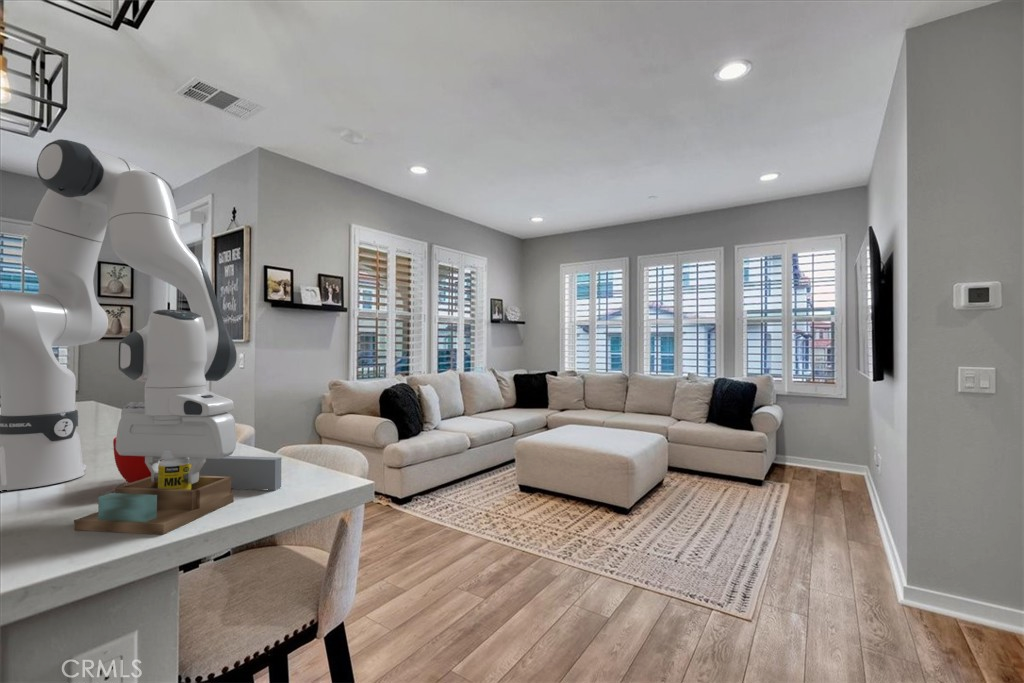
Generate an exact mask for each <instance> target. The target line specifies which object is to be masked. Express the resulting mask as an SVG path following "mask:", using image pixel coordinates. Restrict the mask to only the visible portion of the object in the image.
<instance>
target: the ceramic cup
mask: <svg viewBox="0 0 1024 683" xmlns="http://www.w3.org/2000/svg"><path fill="white" fill-rule="evenodd" d="M116 437H117V436H115V437H114V438H113V439H112V440H113V442H112V443H113V445H112V446H113V455H114V461H115V465H116V468H117V470H118V473H119V474H120V475H121V477H122V478H123V479H124V480H125V481H126V482H127V484H129V483H132V482H135V481H138V480H141V479H145V478H148V477H151V472H150V470H149V469H148V467H147V465H146V463H145V456H122V455H119V454H118V452H117V451H116ZM162 460H163V459H162ZM162 460H159V461H162Z"/></svg>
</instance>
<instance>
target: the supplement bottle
mask: <svg viewBox="0 0 1024 683" xmlns="http://www.w3.org/2000/svg"><path fill="white" fill-rule="evenodd" d="M161 458H162V459H163V460H162V461H160V462H159V465H158V489H183V490H191V484H188V483H184V482H183V480H184V478H183V475H184V473H188V472H189V470H190V468H191V466H192V464H189V458H179V457H173V455H172V454H171V451H163V454H162V457H161Z"/></svg>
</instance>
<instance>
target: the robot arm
mask: <svg viewBox="0 0 1024 683" xmlns="http://www.w3.org/2000/svg"><path fill="white" fill-rule="evenodd" d="M36 161H37V162H36V173H37V176H38V178H39V180H40V181H41V183H42V185H43V186H45V187H46V188H47V190H46V192H45V194H44V195H43V197H42V199H41V201H40V203H39V205H38V206H37V209H36V212H35V214H34V216H33V219H32V223H31V225H30V229H29V231H28V234H27V238H26V241H25V243H24V247H23V251H22V253H21V259H22V261H23V263H24V265H25V266H26V268H28V269H29V270H30V271H31V272H33V273H35V275H36V277H37V279H38V281H37V282H38V291H37V293H35V292H33V293H31V292H24V291H16V290H15V291H14V290H13V291H12V290H0V491H1V492H3V491H2V490H7V491H12V490H13V491H14V490H23V489H29V488H30V489H31V488H37V487H43V486H49V485H54V484H59V483H64V482H68V481H71V480H75V479H78V478H80V477H83V476H84V475H85V473H86V472H85V470H87V464H85V463H83V456H82V455H83V454H82V446H81V439H80V435H79V433H78V432H77V427H78V426H79V419H80V417H79V411H78V410H77V409H76V390H77V388H76V387H77V386H76V385H77V384H76V382H77V381H76V380H77V378H76V375H75V373H74V372H73V371H72V370H71V369H69V368H68V367H66V366H64V365H62V364H61V363H60V362H59V361H58V359H57V356H55V353H54V350H53V347H78V346H81V345H86V344H91V343H95V342H98V341H99V340H101V339H102V338H103V337H104V336H105V335H106V333H107V331H108V328H109V318H108V314H107V313H106V310H104V308H103V307H102V306H101V305H100V304H99V302H98V300H97V298H96V293H95V286H94V277H95V272H96V271H95V270H96V267H97V263H98V259H99V257H100V253H101V248H102V245H103V242H104V239H105V236H106V232H107V227H108V235H109V240H110V244H111V248H112V250H113V252H114V253H115V255H116V256H117V257H118V258H119V259H120V260H121V261H122V262H123V263H125V264H126V265H128V266H129V267H130V268H132V269H135V270H136V271H138V272H140V273H143V274H144V275H147V276H151V277H154V278H155V279H158V280H161V281H163V282H165V283H167V284H168V285H171V286H173V287H175V289H178V290H179V291H180V292H181V293H182V294H183V295H184V296H185V298H186V300H187V304H188V306H189V309H190V311H189V310H187V311H185V310H180V309H157V310H154V311H152V312H151V313H150V314H149V318H148V321H147V324H146V325H145V326H144V327H143V328H141V329H139V330H133V331H131V332H130V333H129V334H127V335H125V336H124V337H123V338H122V339H121V340H119V343H118V370H119V371H120V372H122V373H123V375H125V376H126V377H128V378H129V379H131V380H133V381H138V382H145V384H144V401H140V402H139V401H130V402H128V404H126V405H124V406H123V408H122V409H121V412H120V419H119V422H118V427H117V432H116V436H115V437H116V451H117V452H118V454H119V455H122V456H145V463H146V465H147V467H148V469H149V470H150V472H151V481H152V482H158V465H159V462H160V461H159V460H162V458H161V457H162V454H163V451H171V454H172V455H173V457H179V458H189V464H192V466H191V468H190V470H189V472H188V473H184V475H183V478H184V480H183V482H184V483H188V484H193V483H196V482H198V480H199V471H200V470H201V468H202V467H203V465H204V463H205V462H206V458H207V459H220V458H224V457H227V456H232V454H233V453H234V451H236V447H237V430H236V428H237V427H236V426H237V425H236V420H235V418H234V415H232V414H231V413H230V412H232V411H233V410H234V406H235V405H234V404H235V402H234V400H232V399H231V398H228V397H224V396H222V395H220V394H217V393H215V392H213V391H211V390H208V389H207V388H208V387H207V386H208V383H207V382H218V381H221V380H222V379H223V378H224V377H226V376H227V375H229V373H230V372H232V370H234V367H235V366H236V365H237V364H236V363H237V359H238V358H237V356H238V355H237V348H236V346H235V343H234V341H233V339H232V337H231V335H230V333H229V331H228V329H227V326H226V322H225V320H224V318H223V314H222V311H221V308H220V305H219V303H218V300H217V296H216V293H215V292H216V291H215V290H214V287H213V284H212V281H211V278H210V274H209V273H208V271H207V268H206V265H205V263H204V262H203V260H202V259H201V258H200V257H199V256H197V255H195V253H193V252H192V251H191V249H190V248H189V247H188V245H187V243H186V242H185V241H184V238H183V236H182V233H181V227H180V221H179V215H178V210H177V206H176V203H175V195H174V189H173V188H172V185H171V184H170V183H169V182H168V181H166V180H165V179H164V178H163V177H161V176H160V175H158V174H156V173H154V172H151V171H148V170H146V169H144V168H142V167H140V165H137V164H135V163H132V162H130V161H128V160H126V159H123V158H121V157H116V156H114V155H111V154H108V153H106V152H103V151H100V150H97V149H95V148H91V147H88V146H87V145H86V144H84V143H82V142H81V143H80V142H76V141H74V140H73V141H72V140H68V139H56V140H53V141H51V142H49V143H48V144H46V145H45V146H44V147H43V148H42V150H41V151H40V153H39V155H38V158H37V160H36Z"/></svg>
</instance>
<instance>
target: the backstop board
mask: <svg viewBox="0 0 1024 683" xmlns="http://www.w3.org/2000/svg"><path fill="white" fill-rule="evenodd" d="M199 476H225V477H231V488H234V489H233V490H246V489H268V490H267V491H272V490H275V491H277V490H279V489H281V488H282V457H280V456H279V457H277V456H276V457H275V456H245V455H244V456H243V455H242V456H241V455H237V456H236V455H230V456H227V457H224V458H220V459H207V458H206V462H205V463H204V465H203V467H202V468H201V470H200V471H199ZM280 487H281V488H280ZM278 488H279V489H278ZM276 489H277V490H276Z"/></svg>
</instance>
